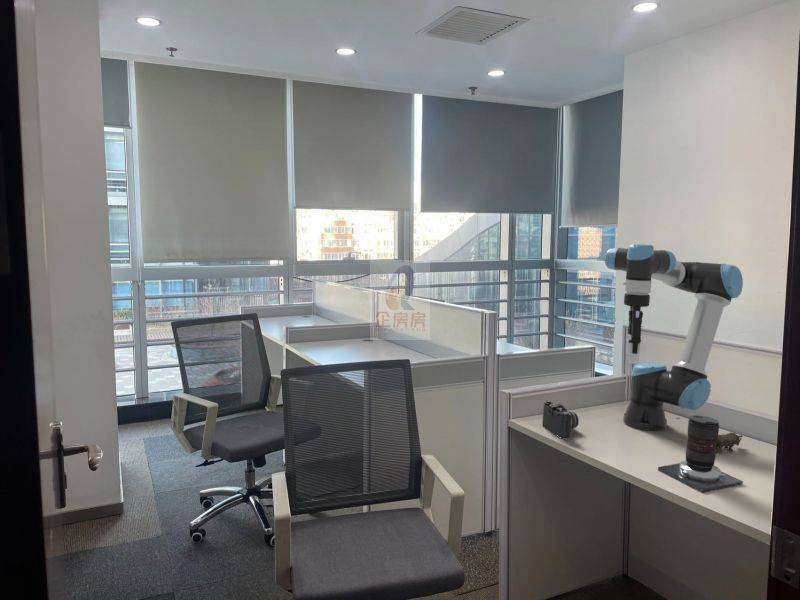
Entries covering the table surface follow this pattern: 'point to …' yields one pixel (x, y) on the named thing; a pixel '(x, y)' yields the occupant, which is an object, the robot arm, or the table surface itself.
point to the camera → (559, 419)
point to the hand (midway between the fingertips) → (632, 358)
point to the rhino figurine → (727, 441)
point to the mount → (700, 477)
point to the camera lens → (701, 443)
